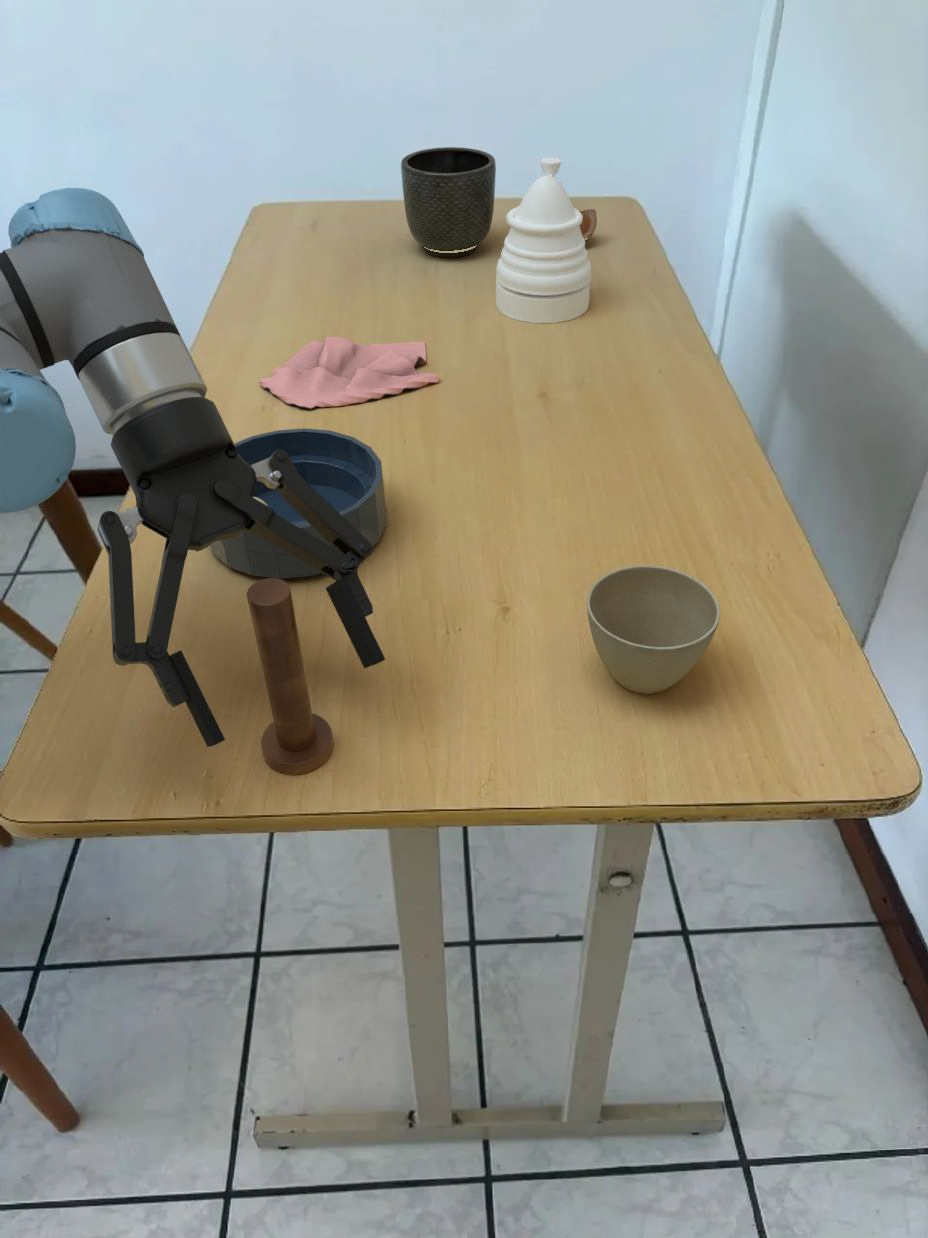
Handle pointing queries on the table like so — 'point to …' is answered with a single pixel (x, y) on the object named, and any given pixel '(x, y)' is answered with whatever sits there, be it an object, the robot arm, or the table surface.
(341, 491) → the bowl
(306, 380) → the cloth
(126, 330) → the robot arm
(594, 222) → the fruit slice
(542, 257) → the honey pot
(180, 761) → the table surface
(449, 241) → the planter
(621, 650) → the flower pot
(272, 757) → the wooden peg stand
